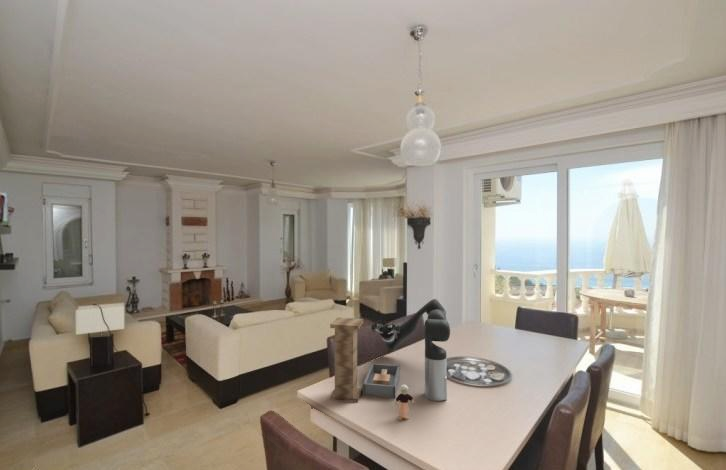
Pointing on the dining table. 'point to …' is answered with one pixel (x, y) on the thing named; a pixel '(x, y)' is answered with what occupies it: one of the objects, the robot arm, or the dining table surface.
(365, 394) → the tote
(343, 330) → the brown tall square column
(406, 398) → the grandmother figurine
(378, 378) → the mallet
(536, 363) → the dining table surface
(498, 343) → the dining table surface
